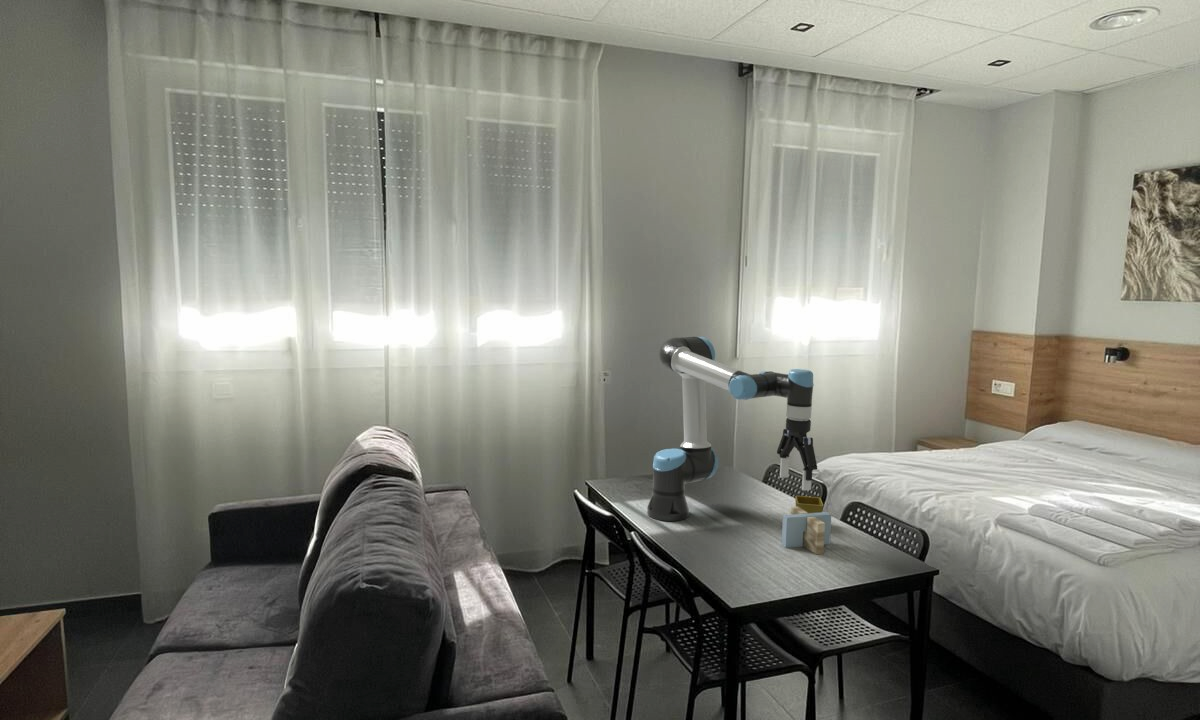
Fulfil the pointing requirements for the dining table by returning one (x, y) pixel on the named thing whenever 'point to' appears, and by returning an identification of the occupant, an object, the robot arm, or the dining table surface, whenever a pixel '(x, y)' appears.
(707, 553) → the dining table surface
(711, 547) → the dining table surface
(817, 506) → the flower pot
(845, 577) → the dining table surface
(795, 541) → the pale blue upright slab
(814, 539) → the tan wooden block
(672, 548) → the dining table surface
